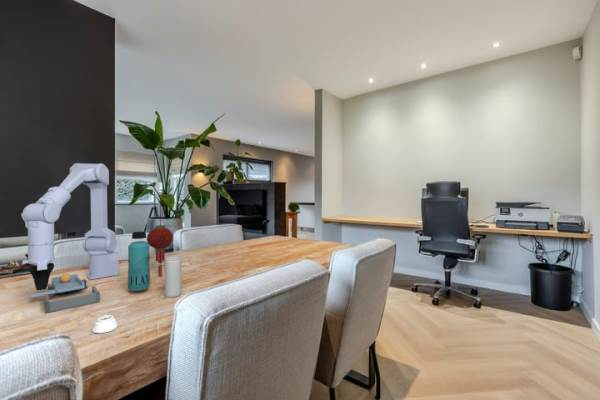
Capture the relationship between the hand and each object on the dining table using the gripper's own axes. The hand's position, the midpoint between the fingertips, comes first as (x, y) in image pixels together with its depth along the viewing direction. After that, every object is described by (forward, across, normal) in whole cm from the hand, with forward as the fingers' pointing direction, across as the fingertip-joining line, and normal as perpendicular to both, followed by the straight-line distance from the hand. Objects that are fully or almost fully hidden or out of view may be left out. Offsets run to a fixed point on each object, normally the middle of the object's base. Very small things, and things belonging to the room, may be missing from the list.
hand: (41, 289), depth 83 cm
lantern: (+4, -4, +34) cm, 35 cm away
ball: (+1, -14, +6) cm, 16 cm away
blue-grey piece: (+3, -7, +4) cm, 9 cm away
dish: (+4, +7, +6) cm, 10 cm away
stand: (+4, -8, +6) cm, 11 cm away
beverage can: (+4, +20, +30) cm, 37 cm away
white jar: (+4, +32, +10) cm, 34 cm away
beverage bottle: (+4, +10, +24) cm, 26 cm away
